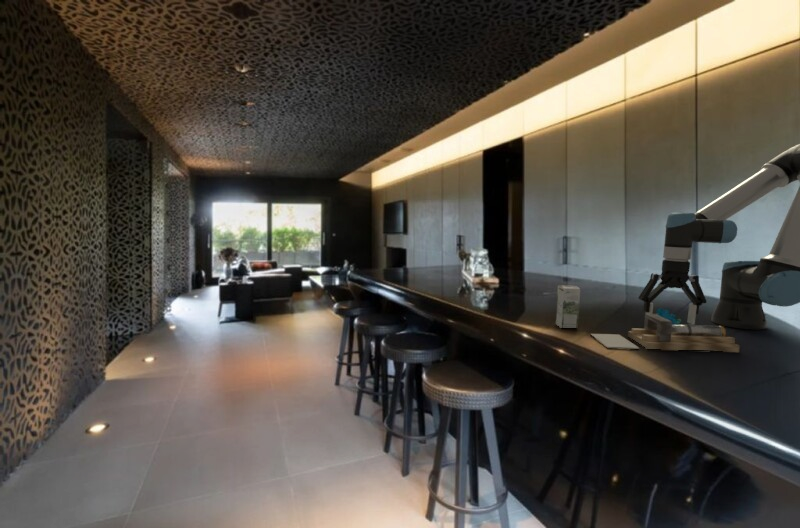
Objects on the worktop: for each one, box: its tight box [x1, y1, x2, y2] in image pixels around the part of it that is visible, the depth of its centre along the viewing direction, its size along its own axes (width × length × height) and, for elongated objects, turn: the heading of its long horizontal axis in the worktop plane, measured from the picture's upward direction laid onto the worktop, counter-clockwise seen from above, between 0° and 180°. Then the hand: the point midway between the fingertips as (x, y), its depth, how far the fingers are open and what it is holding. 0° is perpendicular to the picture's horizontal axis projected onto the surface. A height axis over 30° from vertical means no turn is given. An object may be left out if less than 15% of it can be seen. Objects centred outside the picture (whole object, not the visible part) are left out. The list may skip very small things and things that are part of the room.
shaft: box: [671, 324, 727, 337], centre depth 120 cm, size 15×4×4 cm, turn 85°
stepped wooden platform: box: [627, 313, 741, 353], centre depth 121 cm, size 25×12×8 cm, turn 85°
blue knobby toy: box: [655, 307, 682, 325], centre depth 135 cm, size 11×6×10 cm
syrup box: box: [555, 285, 581, 329], centre depth 139 cm, size 6×6×14 cm
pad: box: [590, 333, 640, 350], centre depth 123 cm, size 9×13×1 cm
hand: (669, 322), depth 134 cm, fingers open, 13 cm apart
